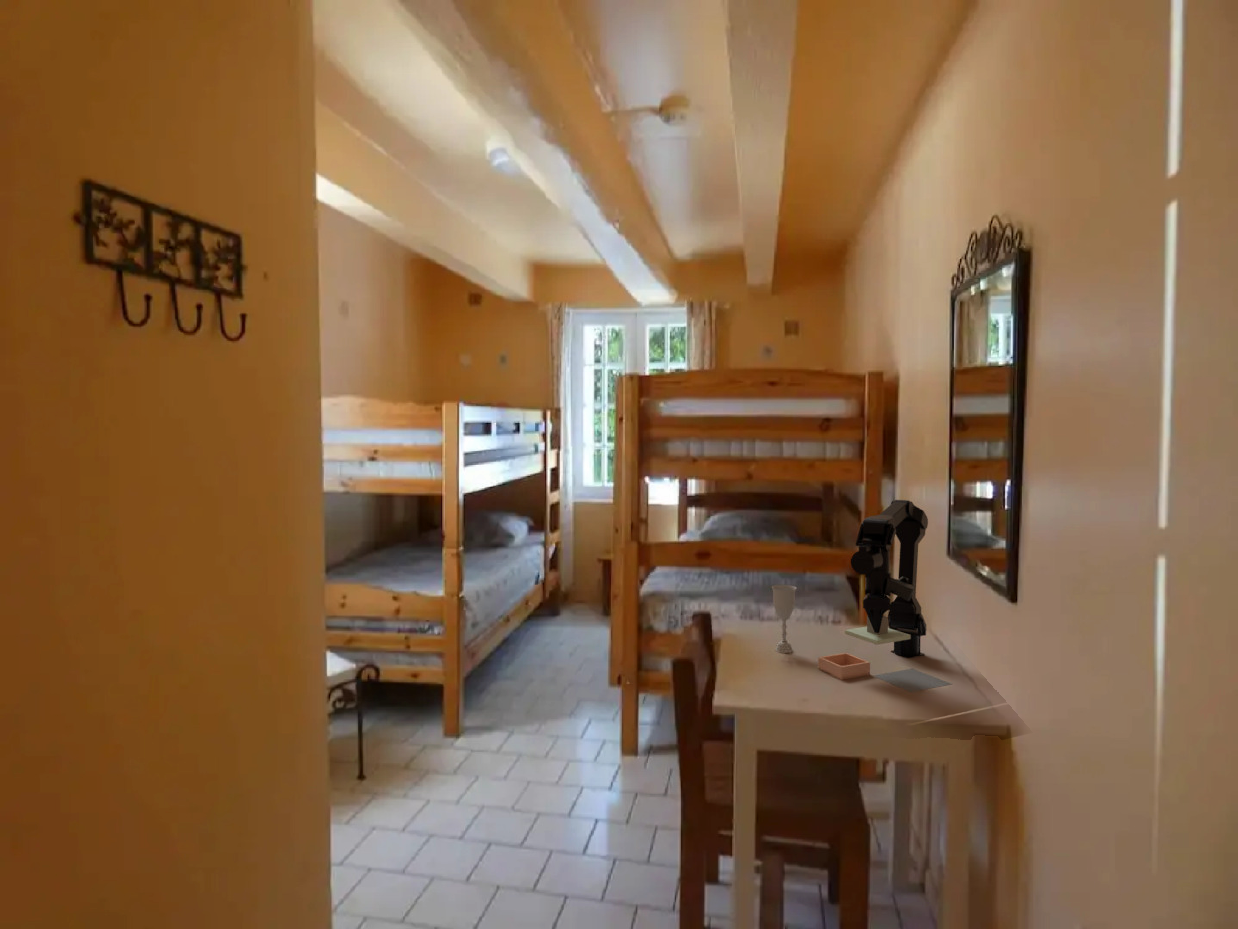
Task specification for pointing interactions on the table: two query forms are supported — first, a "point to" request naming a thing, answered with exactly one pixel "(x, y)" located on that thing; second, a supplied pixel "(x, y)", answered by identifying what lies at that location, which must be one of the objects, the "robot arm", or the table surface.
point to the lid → (878, 638)
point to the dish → (844, 666)
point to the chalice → (784, 611)
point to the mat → (912, 680)
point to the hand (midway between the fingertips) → (877, 630)
